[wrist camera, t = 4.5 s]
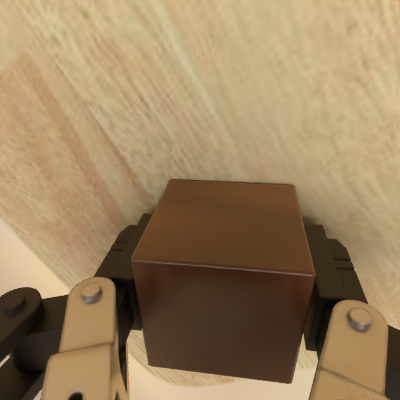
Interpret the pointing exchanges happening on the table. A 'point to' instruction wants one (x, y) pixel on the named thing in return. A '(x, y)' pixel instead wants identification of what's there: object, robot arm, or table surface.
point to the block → (224, 279)
